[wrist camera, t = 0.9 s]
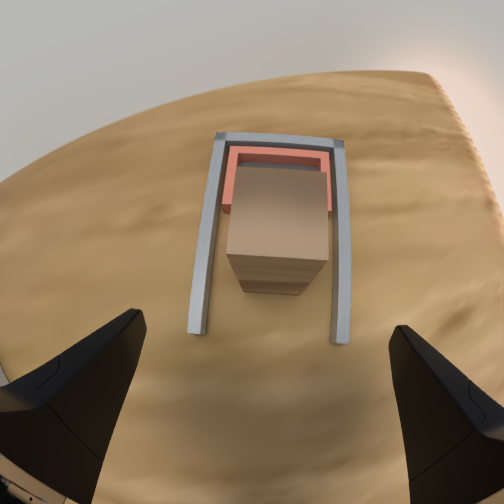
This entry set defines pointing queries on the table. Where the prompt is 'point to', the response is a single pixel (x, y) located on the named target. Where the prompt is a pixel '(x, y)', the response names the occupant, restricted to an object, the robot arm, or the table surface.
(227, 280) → the table surface
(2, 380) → the coffee box
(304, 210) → the walnut block
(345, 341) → the u-shaped frame
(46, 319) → the table surface
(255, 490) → the table surface
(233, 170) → the rectangular frame
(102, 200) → the table surface
